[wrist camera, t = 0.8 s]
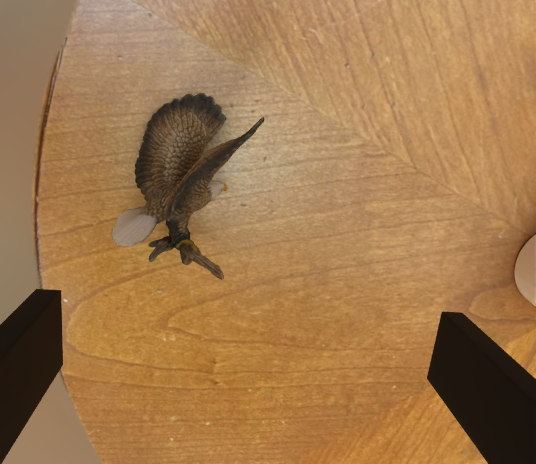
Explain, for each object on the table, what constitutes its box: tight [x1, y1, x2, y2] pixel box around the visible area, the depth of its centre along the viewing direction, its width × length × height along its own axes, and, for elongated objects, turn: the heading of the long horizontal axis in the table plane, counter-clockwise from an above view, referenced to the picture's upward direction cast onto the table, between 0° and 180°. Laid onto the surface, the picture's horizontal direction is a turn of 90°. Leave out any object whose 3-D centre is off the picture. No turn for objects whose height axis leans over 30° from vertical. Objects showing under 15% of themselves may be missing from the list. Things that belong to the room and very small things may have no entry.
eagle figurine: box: [112, 93, 264, 280], centre depth 25 cm, size 8×7×9 cm
